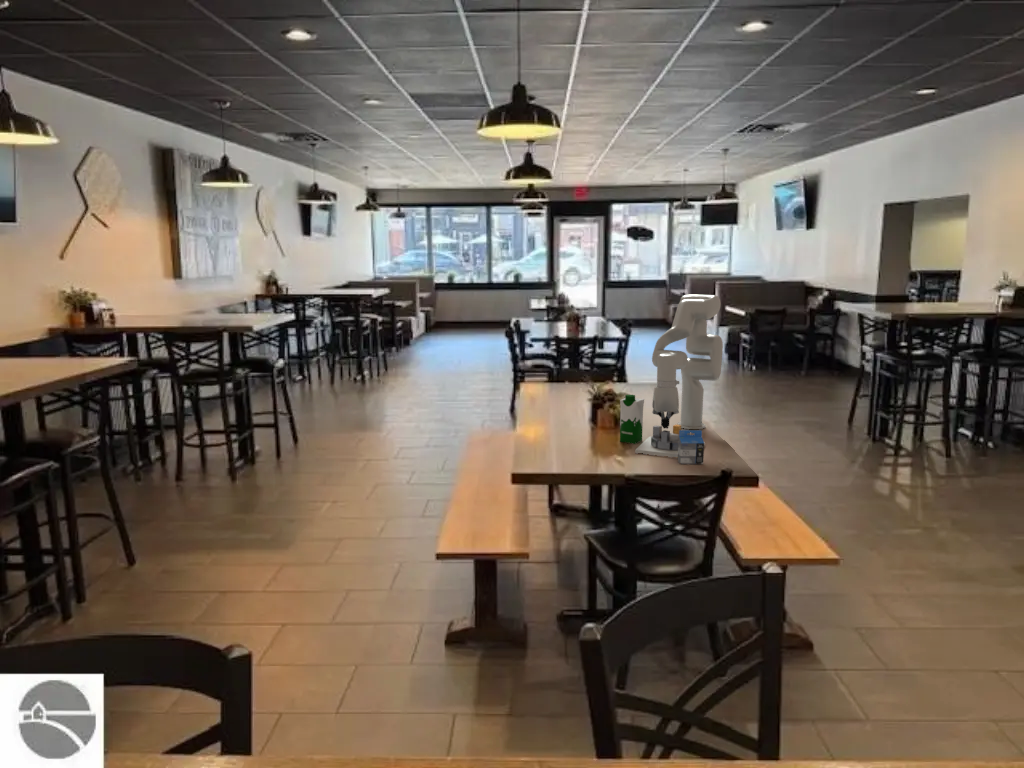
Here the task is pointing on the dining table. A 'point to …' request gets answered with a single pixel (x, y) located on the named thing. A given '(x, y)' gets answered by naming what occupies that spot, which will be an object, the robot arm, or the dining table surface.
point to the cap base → (651, 450)
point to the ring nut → (665, 438)
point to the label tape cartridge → (690, 447)
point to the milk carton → (631, 419)
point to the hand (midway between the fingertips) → (665, 427)
